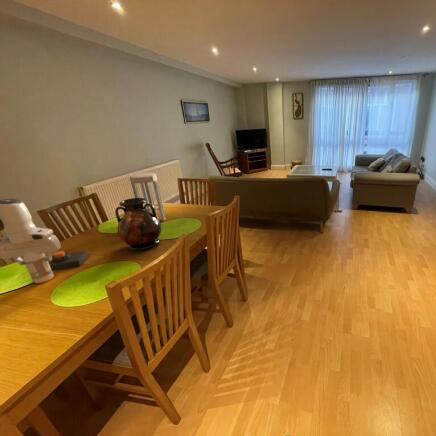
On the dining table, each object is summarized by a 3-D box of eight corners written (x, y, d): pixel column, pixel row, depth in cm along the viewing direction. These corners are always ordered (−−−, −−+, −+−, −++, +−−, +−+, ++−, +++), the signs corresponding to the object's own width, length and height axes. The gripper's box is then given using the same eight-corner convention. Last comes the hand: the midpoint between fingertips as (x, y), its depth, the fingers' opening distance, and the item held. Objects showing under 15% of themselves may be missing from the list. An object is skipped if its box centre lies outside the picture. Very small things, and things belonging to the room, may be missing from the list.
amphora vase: (165, 234, 156) (156, 193, 146) (163, 250, 138) (152, 203, 127) (127, 240, 148) (114, 197, 138) (119, 257, 130) (103, 209, 119)
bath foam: (49, 281, 111) (31, 243, 103) (30, 285, 108) (10, 246, 101) (57, 273, 117) (41, 236, 109) (39, 276, 114) (21, 239, 107)
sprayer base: (45, 271, 118) (41, 263, 116) (56, 260, 128) (53, 252, 126) (80, 266, 123) (76, 257, 121) (88, 255, 132) (85, 247, 130)
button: (53, 258, 120) (51, 255, 120) (57, 255, 124) (55, 251, 123) (63, 257, 122) (61, 253, 121) (66, 253, 125) (65, 250, 124)
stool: (150, 218, 184) (139, 172, 170) (170, 218, 183) (160, 172, 170) (137, 226, 169) (124, 177, 156) (158, 226, 169) (147, 177, 155)
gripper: (-14, 242, 98) (1, 270, 103) (49, 234, 104) (60, 261, 110) (-3, 236, 103) (11, 263, 109) (56, 229, 110) (67, 255, 115)
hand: (36, 262), depth 109 cm, fingers open, 8 cm apart
